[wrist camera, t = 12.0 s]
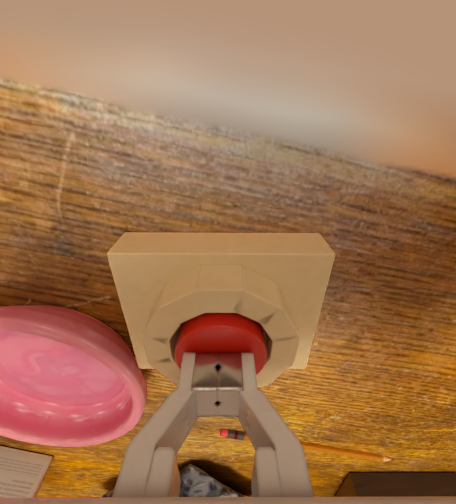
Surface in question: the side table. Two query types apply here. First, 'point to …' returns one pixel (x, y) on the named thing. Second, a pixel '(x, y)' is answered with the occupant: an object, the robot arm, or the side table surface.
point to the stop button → (222, 336)
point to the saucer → (65, 378)
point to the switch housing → (398, 484)
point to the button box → (221, 290)
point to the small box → (21, 472)
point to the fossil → (198, 485)
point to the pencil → (314, 447)
